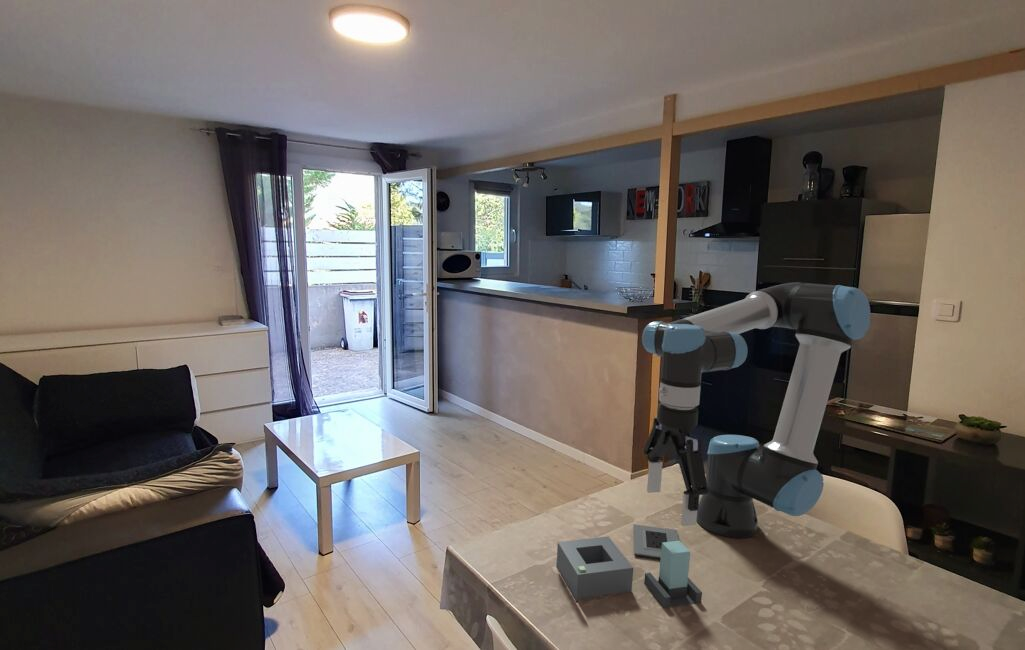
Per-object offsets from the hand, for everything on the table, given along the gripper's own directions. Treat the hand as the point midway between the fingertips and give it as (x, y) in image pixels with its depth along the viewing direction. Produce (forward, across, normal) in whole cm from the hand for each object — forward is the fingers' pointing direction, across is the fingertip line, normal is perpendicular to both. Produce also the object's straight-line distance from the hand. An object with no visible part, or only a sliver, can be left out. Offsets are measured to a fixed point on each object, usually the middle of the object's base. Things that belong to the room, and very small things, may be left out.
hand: (669, 507), depth 107 cm
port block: (+19, -7, -13) cm, 24 cm away
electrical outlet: (+20, -16, +7) cm, 26 cm away
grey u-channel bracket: (+19, +1, +1) cm, 19 cm away
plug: (+18, +1, +1) cm, 18 cm away
